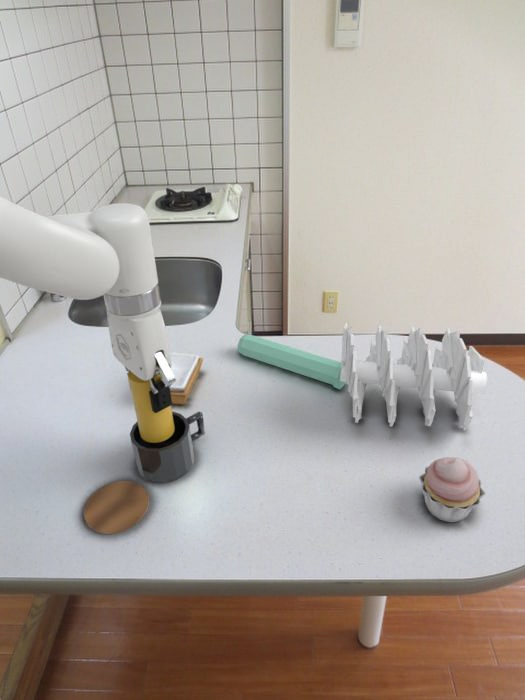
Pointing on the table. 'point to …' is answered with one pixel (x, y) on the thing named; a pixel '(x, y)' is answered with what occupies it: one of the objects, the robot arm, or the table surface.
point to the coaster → (116, 507)
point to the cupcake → (451, 488)
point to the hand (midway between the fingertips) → (151, 397)
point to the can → (150, 412)
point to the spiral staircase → (415, 372)
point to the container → (292, 359)
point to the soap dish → (184, 375)
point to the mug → (167, 450)
